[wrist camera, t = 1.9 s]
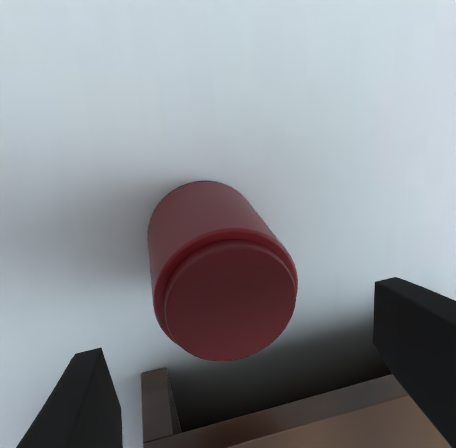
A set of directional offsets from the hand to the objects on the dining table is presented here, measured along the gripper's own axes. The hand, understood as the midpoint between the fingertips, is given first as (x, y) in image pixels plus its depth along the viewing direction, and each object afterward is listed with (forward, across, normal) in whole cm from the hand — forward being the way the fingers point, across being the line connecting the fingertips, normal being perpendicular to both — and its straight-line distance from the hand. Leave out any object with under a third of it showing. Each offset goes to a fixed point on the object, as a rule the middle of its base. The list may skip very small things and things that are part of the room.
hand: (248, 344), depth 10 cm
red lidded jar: (+7, 0, 0) cm, 7 cm away
